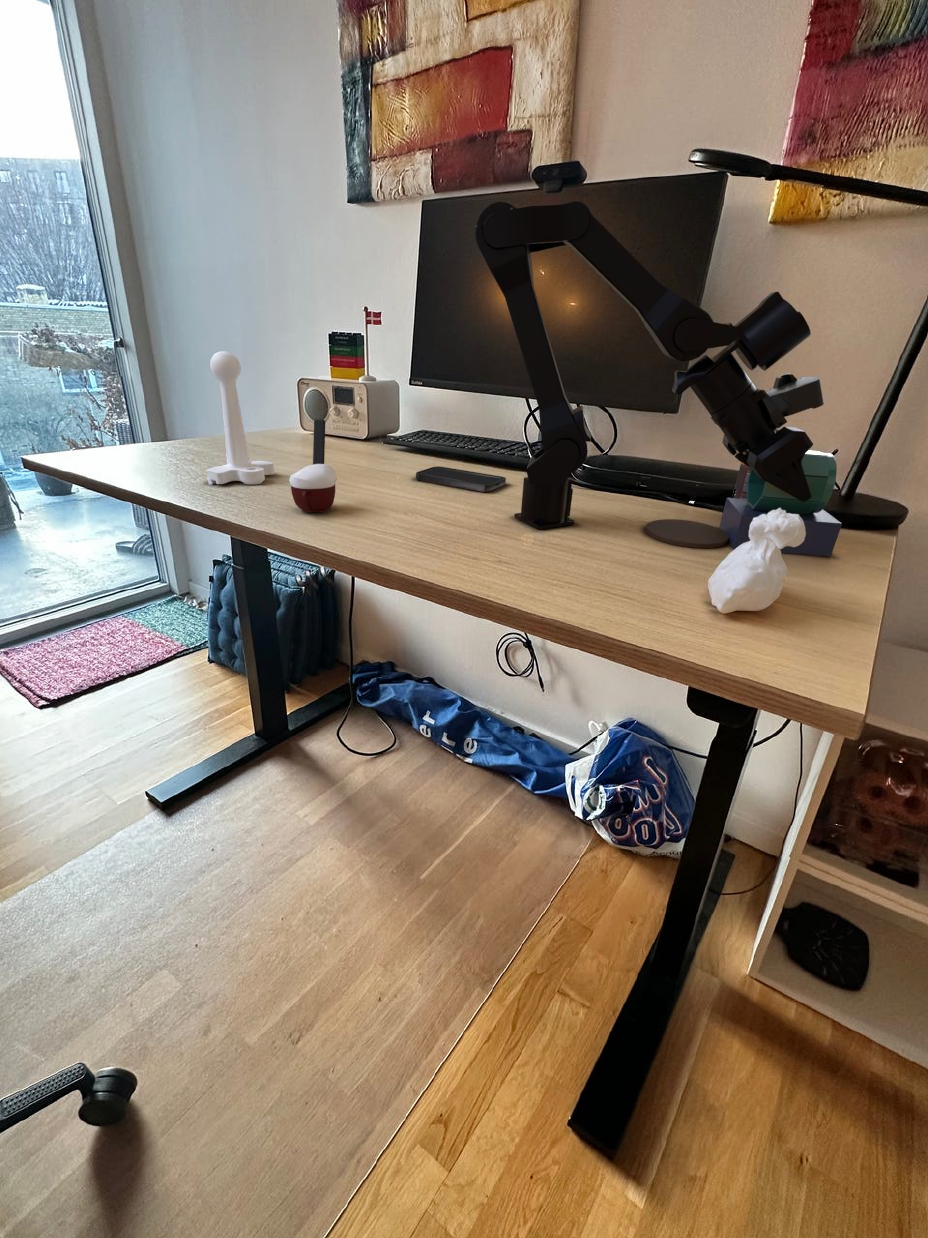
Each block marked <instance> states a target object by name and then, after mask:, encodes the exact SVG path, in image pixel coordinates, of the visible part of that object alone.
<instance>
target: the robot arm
mask: <svg viewBox="0 0 928 1238" xmlns="http://www.w3.org/2000/svg"><path fill="white" fill-rule="evenodd" d="M474 237H475V242H476V245H477V247H478V249H479V252H480V253H481V256H482V258H483V259H484V261H485V264H486V265H487V267H488V269H489V272H490V273H491V275H492V277H493V278H494V280H495V282H496V284H497V286H498V288H499V289H500V291H501V293H502V295H503V297H504V300H505V302H506V306H507V309H508V313H509V315H510V319H511V322H512V326H513V329H514V332H515V337H516V338H517V341H518V345H519V348H520V351H521V355H522V358H523V362H524V364H525V368H526V371H527V374H528V377H529V380H530V385H531V387H532V390H533V393H534V397H535V400H536V403H537V404H536V405H537V408H538V414H539V425H540V436H541V444H542V447H541V448H540V449H539V450H538V451H536V452H535V453H534V454H533V455H532V456H531V457H530V460H529V462H528V464H527V467H526V469H525V471H526V475H527V476H525V477H523V483H522V495H521V505H520V512H517V513H514V516H513V518H515V519H517V520H519V521H521V522H523V523H525V524H527V525H530V526H531V527H534V528H536V529H539V530H544V529H548V528H556V527H563V526H569V525H570V526H571V525H574V524H575V521H576V520H575V519H572V518H571V517H570V516H571V510H572V502H573V493H574V489H573V487H572V486H573V478H571V477H569V476H570V475H571V473H574V472H576V471H577V470H579V469H580V468H581V467H582V466H583V465H584V463H585V462H586V460H587V457H588V453H589V451H588V450H589V449H588V448H589V447H588V443H590V442H592V434H591V433H592V432H591V431H590V430H589V428H588V427H587V425H586V421H585V415H584V413H585V412H584V406H583V405H579V406H577V407H575V408H573V406H572V404H571V403H570V401H569V399H568V397H567V395H566V392H565V389H564V385H563V381H562V379H561V376H560V372H559V371H560V370H559V368H558V365H557V362H556V358H555V354H554V350H553V348H552V344H551V341H550V337H549V334H548V330H547V327H546V324H545V320H544V316H543V313H542V310H541V307H540V303H539V299H538V295H537V293H536V289H535V283H534V270H533V261H532V260H533V259H532V254H533V253H539V252H544V251H548V250H553V249H556V248H560V247H561V248H562V247H570V248H571V249H572V250H573V251H574V252H575V253H576V254H577V255H578V256H579V257H580V258H581V259H582V260H583V261H584V262H585V263H586V264H587V265H589V267H590V268H591V269H593V270H594V272H595V273H596V274H598V275H599V277H601V278H602V280H603V281H605V282H606V283H607V284H608V286H610V287H611V288H612V289H613V290H614V291H615V292H616V293H617V294H618V295H619V297H621V298H622V299H623V300H624V301H625V302H626V303H627V304H628V305H629V307H631V308H632V309H633V310H634V311H635V312H636V314H637V315H638V317H639V318H640V320H641V322H642V323H643V325H644V326H645V328H646V330H647V331H648V333H649V334H650V336H651V337H652V339H653V340H654V342H655V344H656V345H657V346H658V348H659V349H660V351H661V352H662V353H663V354H664V355H665V356H666V357H668V358H669V359H672V360H676V361H679V362H691V361H694V360H696V359H698V358H699V359H698V360H696V362H695V363H693V364H692V365H691V366H690V367H689V368H687V369H686V370H677V369H676V370H675V371H674V382H673V385H672V388H671V391H672V392H673V394H675V395H676V396H680V395H681V394H683V393H684V392H686V390H688V389H689V388H690V389H691V390H692V392H693V393H694V394H695V396H696V397H697V399H698V400H699V402H700V403H701V405H703V407H704V408H705V410H706V411H707V412H708V413H709V415H710V419H711V420H712V422H713V423H714V424H715V425H716V426H718V427H719V429H720V430H721V431H722V433H723V438H722V441H721V442H722V444H723V446H724V447H725V449H726V450H727V451H728V453H729V454H730V455H732V456H734V458H735V459H736V460H738V461H739V462H740V463H741V462H742V463H744V464H745V465H747V466H749V467H750V468H752V470H753V471H754V472H755V473H756V475H757V476H758V477H760V478H761V479H762V480H764V481H766V482H768V483H770V484H772V485H773V486H775V487H777V488H779V489H781V490H782V491H784V492H786V493H788V494H789V495H791V496H793V497H795V498H797V499H798V500H800V501H802V502H806V501H807V500H809V499H810V498H811V497H812V496H811V493H810V490H809V486H808V483H807V480H806V477H805V474H804V470H803V467H802V459H803V457H804V455H805V453H806V452H807V451H810V449H811V448H812V447H813V445H814V443H813V441H812V439H811V438H810V437H809V436H808V434H807V432H806V431H805V430H803V429H800V428H798V427H795V426H784V425H786V424H787V423H788V420H787V419H786V417H790V416H793V415H796V414H799V413H802V412H804V411H806V410H810V409H813V410H815V409H818V408H820V407H822V406H824V404H825V400H824V395H823V389H822V384H821V378H820V377H815V376H811V375H810V376H801V377H799V379H798V378H797V377H796V376H795V375H794V374H793V373H789V372H787V373H783V374H781V375H778V376H777V377H775V379H774V383H773V386H772V387H771V388H769V389H768V391H766V390H765V389H763V388H762V389H760V388H758V387H756V386H755V385H754V383H753V382H752V380H751V379H750V377H749V376H748V375H747V373H746V371H745V370H744V368H743V367H742V366H741V364H740V363H739V361H738V360H737V359H736V357H735V356H734V355H733V353H734V352H735V353H736V355H737V356H738V358H739V360H740V361H741V362H742V363H743V364H744V365H745V367H746V368H747V369H748V370H749V371H754V370H756V369H757V367H758V368H759V369H761V370H762V371H764V372H765V371H767V370H768V369H769V368H772V366H774V365H775V364H777V362H779V361H780V360H781V359H783V358H784V357H785V356H787V355H788V354H789V353H790V352H792V351H793V350H794V349H796V348H797V347H798V346H799V345H801V344H802V343H804V342H805V341H806V340H807V339H809V338H810V337H811V335H812V334H811V333H812V332H811V329H810V326H809V324H808V321H807V320H806V318H805V317H804V315H803V314H802V312H801V311H797V309H795V307H794V306H793V305H792V304H791V303H790V302H789V301H788V300H786V299H785V298H783V296H782V295H781V293H780V291H773V292H770V293H769V294H768V295H767V296H765V298H763V299H762V300H761V302H760V303H759V304H758V305H757V306H756V307H755V308H754V309H752V310H751V311H750V312H749V313H747V315H745V316H744V317H743V318H742V319H740V320H739V321H738V322H737V323H736V324H733V323H732V322H724V323H720V322H716V321H714V319H713V318H712V316H711V315H710V314H709V313H708V312H707V311H706V310H704V309H703V308H702V307H700V306H698V305H697V304H695V303H694V302H692V301H690V300H689V299H687V298H686V297H684V296H683V295H681V294H679V293H677V292H676V291H674V290H672V289H670V288H668V287H667V286H665V285H664V284H662V283H661V282H660V281H659V280H658V279H657V278H656V277H655V276H654V275H653V274H652V273H651V271H649V270H648V269H647V268H646V267H645V266H644V265H643V264H642V263H641V262H640V261H639V260H638V259H637V258H636V257H635V256H634V255H633V254H632V253H631V252H630V251H629V249H627V248H626V247H625V246H624V245H623V244H622V243H621V241H619V239H617V238H616V237H615V236H614V234H612V233H611V232H610V231H609V230H608V229H607V227H605V226H604V225H603V224H602V222H600V221H599V219H598V218H596V217H595V216H594V215H593V213H592V212H591V210H590V208H589V206H588V205H587V204H586V203H584V202H583V201H580V200H573V201H569V202H567V203H560V204H550V205H549V204H546V205H545V204H543V205H530V206H523V207H522V206H521V207H515V206H514V205H512V204H511V203H508V202H506V201H496V202H493V203H491V204H489V205H487V206H486V207H485V208H484V209H483V210H482V212H481V213H480V214H479V216H478V219H477V221H476V224H475V227H474ZM722 347H724V348H722ZM716 348H722V350H721V351H719V352H718V353H717V354H715V355H714V356H713V357H709V356H708V355H707V354H705V353H706V352H707V350H709V349H716ZM701 356H702V357H701ZM700 357H701V358H700ZM782 426H783V427H782Z"/></svg>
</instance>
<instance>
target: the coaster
mask: <svg viewBox="0 0 928 1238" xmlns="http://www.w3.org/2000/svg"><path fill="white" fill-rule="evenodd" d="M645 532H646V534H647V535H648V536H649V537H651V538H653V539H655V540H658V541H659V542H663V543H666V544H668V545H669V544H670V545H674V546H679V547H685V548H691V549H693V548H694V549H713V548H720V547H723V546H726V545H727V544H728V543H729V541H728V540H729V536H728V534H727V533H726V532H725V531H723V530H721V529H720V528H718V527H717V526H714V525H711V524H708V523H704V522H701V521H700V522H699V521H694V520H688V519H677V518H666V519H665V518H664V519H656V520H652V521H649V522H648V523H646V525H645Z"/></svg>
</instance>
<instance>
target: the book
mask: <svg viewBox="0 0 928 1238" xmlns="http://www.w3.org/2000/svg"><path fill="white" fill-rule="evenodd" d="M769 512H770V511H764V510H753V509H752V508H751V507H750V506H749V505H748V504H747V499H736V498H732V497H726V499H725V503H724V508H723V511H722V515H721V520H720V524H719V526H718V527H719V529H721V530H723V531H725V532H726V533H727V534H728V536H729V540H728V543H729V544H730V545H731V547H732V548H733V549H736V548H737V547H738V546H740V545H741V544H743V543H745V542H749V541H750V538H749V529H750V524H751V522H752V521H753V518H755V517H758V516H760V515H761V514H766V515H767V514H768V513H769ZM786 513H787V512H786ZM790 514H798V513H790ZM799 516H800V517H801V518H802V520H803V522H804V525H805V531H806V536H805V539H804V541H803V542H802V543H801V544H800V545H798V546H797V547H791V546H785V547H784V548H782V549H780V551H781V554H793V555H802V556H803V555H805V556H816V557H825V558H831V557H832V554H833V552H834V549H835V545H836V543H837V539H838V537H839V535H840V531H841V528H842V525H843V523H842V522H841V521H839V520H838V519H836V518H835V516H833V515H831V514H830V513H828V511H826V510H824V509H823V510H821V511H820V512H818V513H810V514H799Z"/></svg>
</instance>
